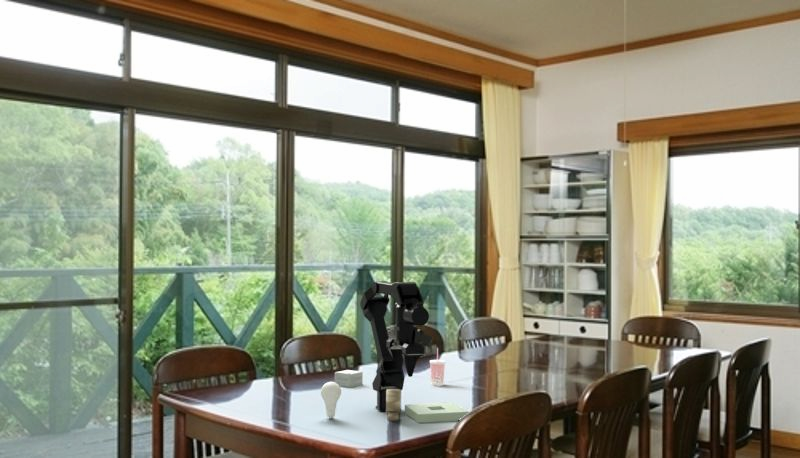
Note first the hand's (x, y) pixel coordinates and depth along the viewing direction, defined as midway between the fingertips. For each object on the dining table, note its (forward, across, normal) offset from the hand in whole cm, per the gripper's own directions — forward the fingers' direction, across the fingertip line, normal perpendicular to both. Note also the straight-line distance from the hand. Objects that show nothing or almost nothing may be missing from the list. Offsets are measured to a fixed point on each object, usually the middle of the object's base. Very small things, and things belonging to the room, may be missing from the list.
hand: (404, 374), depth 228 cm
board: (+13, -1, -10) cm, 17 cm away
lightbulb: (+13, +6, +22) cm, 26 cm away
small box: (+14, +58, +1) cm, 59 cm away
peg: (+13, -1, +4) cm, 14 cm away
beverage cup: (+13, +48, -31) cm, 59 cm away
